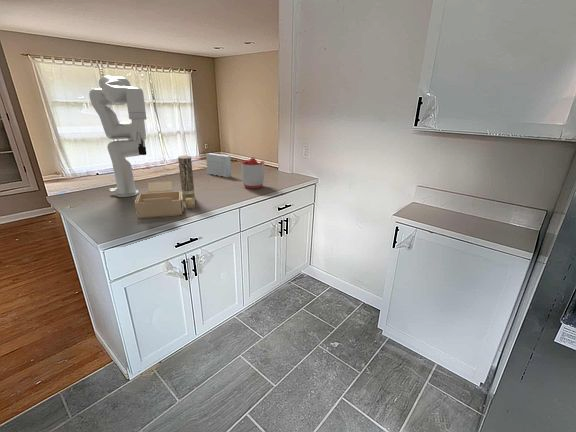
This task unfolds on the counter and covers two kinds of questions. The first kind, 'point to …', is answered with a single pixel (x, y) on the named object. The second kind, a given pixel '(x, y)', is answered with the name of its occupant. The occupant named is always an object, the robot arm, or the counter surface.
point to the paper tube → (186, 177)
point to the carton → (159, 205)
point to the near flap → (157, 199)
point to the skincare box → (218, 164)
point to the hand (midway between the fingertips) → (142, 154)
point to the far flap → (159, 186)
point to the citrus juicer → (252, 173)
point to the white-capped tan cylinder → (190, 203)
